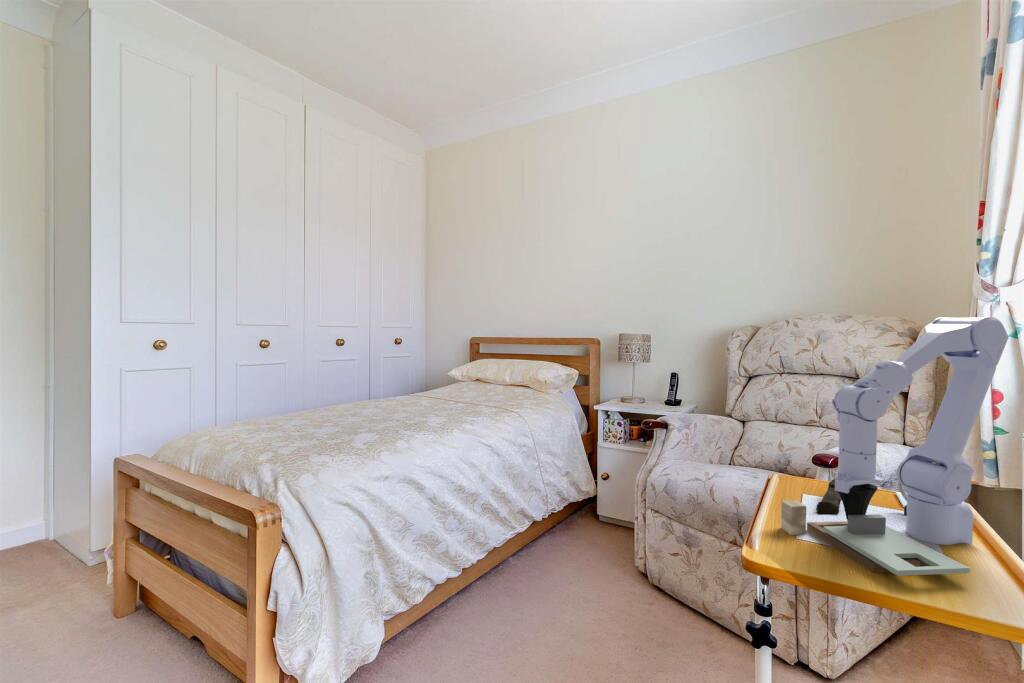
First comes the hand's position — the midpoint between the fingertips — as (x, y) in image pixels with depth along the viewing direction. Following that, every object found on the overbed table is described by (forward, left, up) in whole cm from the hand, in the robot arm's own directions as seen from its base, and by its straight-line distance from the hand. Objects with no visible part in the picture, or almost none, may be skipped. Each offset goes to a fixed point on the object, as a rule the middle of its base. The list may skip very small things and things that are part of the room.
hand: (854, 522), depth 90 cm
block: (+9, -4, -5) cm, 11 cm away
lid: (0, +8, -2) cm, 8 cm away
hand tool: (-11, -20, -5) cm, 23 cm away
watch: (-24, -11, -5) cm, 27 cm away
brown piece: (0, +3, -5) cm, 6 cm away
